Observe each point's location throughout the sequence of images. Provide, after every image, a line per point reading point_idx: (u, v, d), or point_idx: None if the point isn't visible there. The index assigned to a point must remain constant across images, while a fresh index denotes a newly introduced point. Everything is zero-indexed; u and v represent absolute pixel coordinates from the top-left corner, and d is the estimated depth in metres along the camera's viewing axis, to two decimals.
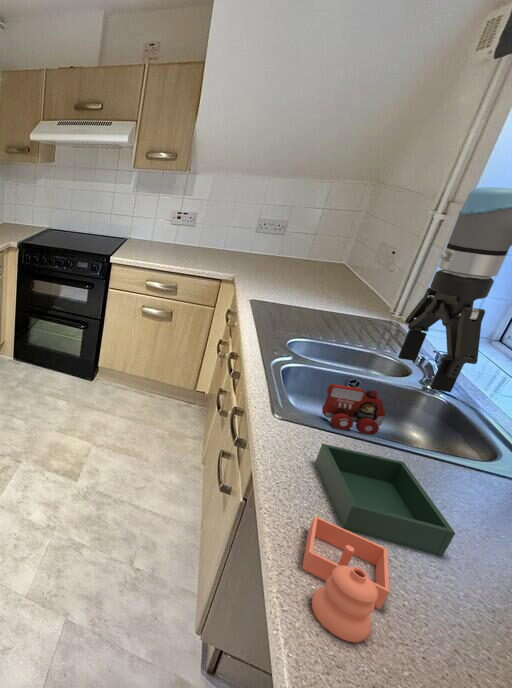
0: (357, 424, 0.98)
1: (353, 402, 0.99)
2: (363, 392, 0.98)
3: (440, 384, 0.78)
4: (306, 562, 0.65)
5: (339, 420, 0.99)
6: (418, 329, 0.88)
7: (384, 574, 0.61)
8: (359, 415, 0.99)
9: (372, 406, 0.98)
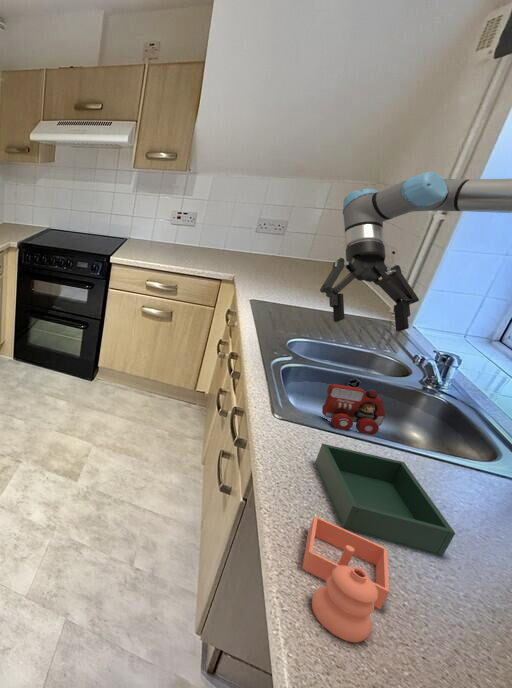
0: (357, 424, 0.98)
1: (353, 402, 0.99)
2: (363, 392, 0.98)
3: (335, 315, 1.01)
4: (306, 562, 0.65)
5: (340, 420, 0.99)
6: (401, 302, 1.00)
7: (384, 574, 0.61)
8: (359, 415, 0.99)
9: (372, 406, 0.98)
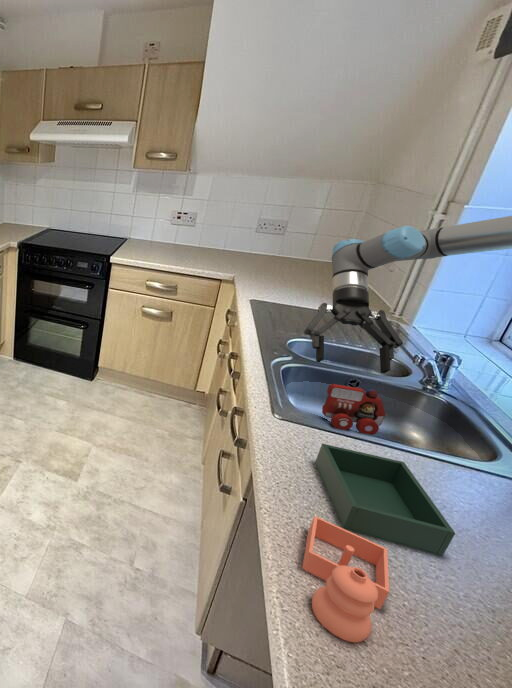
0: (357, 424, 0.98)
1: (353, 402, 0.99)
2: (363, 392, 0.98)
3: (317, 356, 1.08)
4: (306, 562, 0.65)
5: (340, 420, 0.99)
6: None
7: (384, 574, 0.61)
8: (359, 415, 0.99)
9: (372, 406, 0.98)
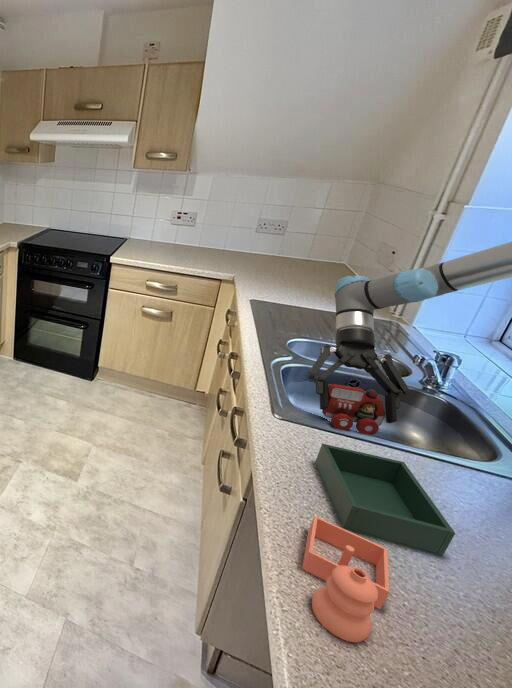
0: (357, 424, 0.98)
1: (353, 402, 0.99)
2: (363, 392, 0.98)
3: (321, 403, 1.01)
4: (306, 562, 0.65)
5: (340, 421, 0.99)
6: None
7: (384, 574, 0.61)
8: (359, 415, 0.99)
9: (372, 406, 0.98)
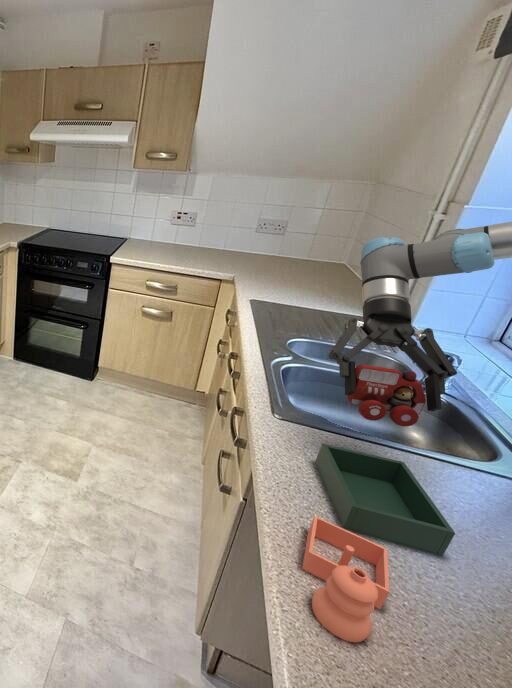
0: (391, 413, 0.81)
1: (386, 386, 0.82)
2: (399, 374, 0.80)
3: (346, 387, 0.84)
4: (306, 562, 0.65)
5: (370, 408, 0.81)
6: (433, 375, 0.81)
7: (384, 574, 0.61)
8: (393, 402, 0.82)
9: (410, 390, 0.80)
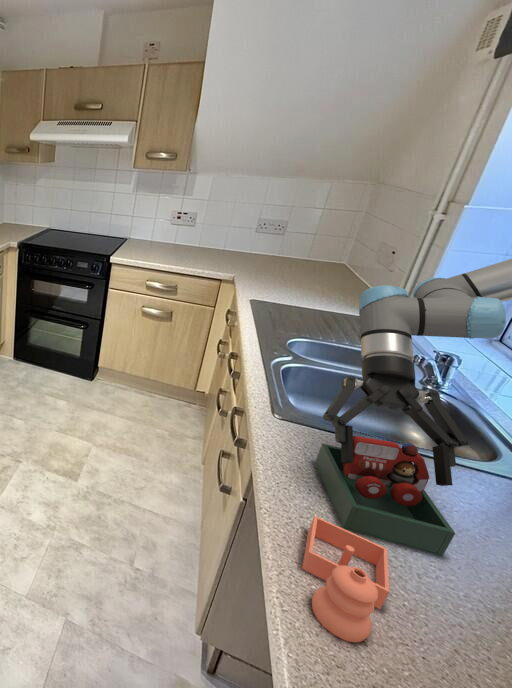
0: (392, 491, 0.74)
1: (385, 461, 0.74)
2: (398, 448, 0.73)
3: (343, 455, 0.76)
4: (306, 562, 0.65)
5: (368, 486, 0.74)
6: (442, 444, 0.73)
7: (384, 574, 0.61)
8: (394, 478, 0.74)
9: (412, 466, 0.73)
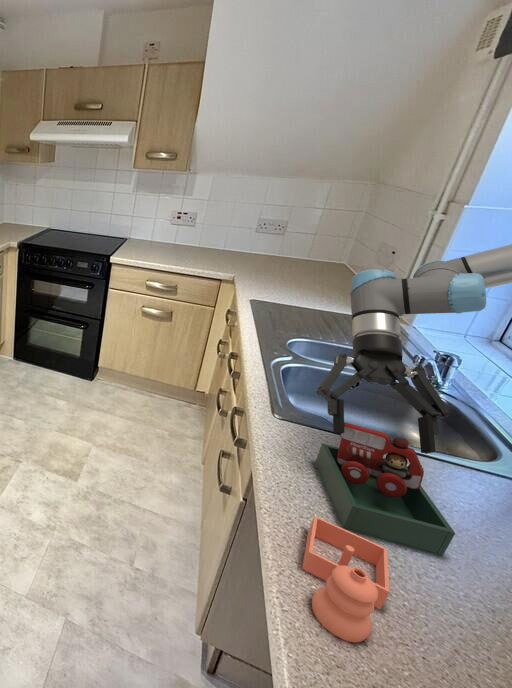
0: (376, 479, 0.77)
1: (373, 450, 0.78)
2: (385, 438, 0.76)
3: (335, 426, 0.81)
4: (306, 562, 0.65)
5: (349, 469, 0.79)
6: (427, 415, 0.78)
7: (384, 574, 0.61)
8: (383, 469, 0.77)
9: (401, 458, 0.75)
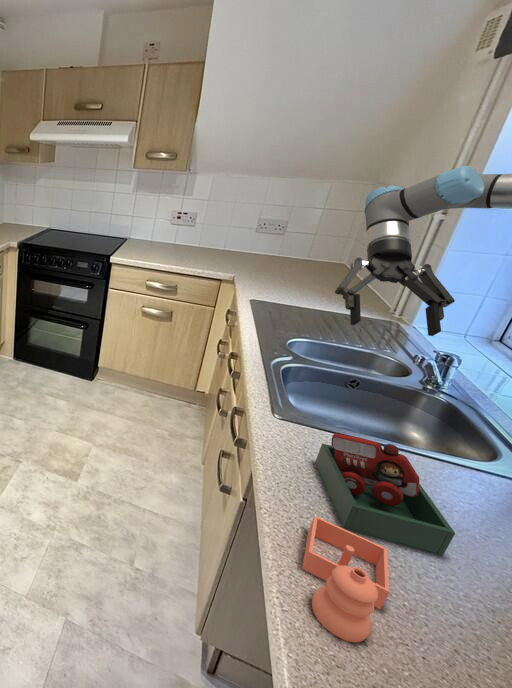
0: None
1: (366, 459, 0.78)
2: (375, 446, 0.77)
3: (352, 318, 0.92)
4: (306, 562, 0.65)
5: (345, 480, 0.79)
6: None
7: (384, 574, 0.61)
8: (379, 478, 0.77)
9: (393, 466, 0.75)
